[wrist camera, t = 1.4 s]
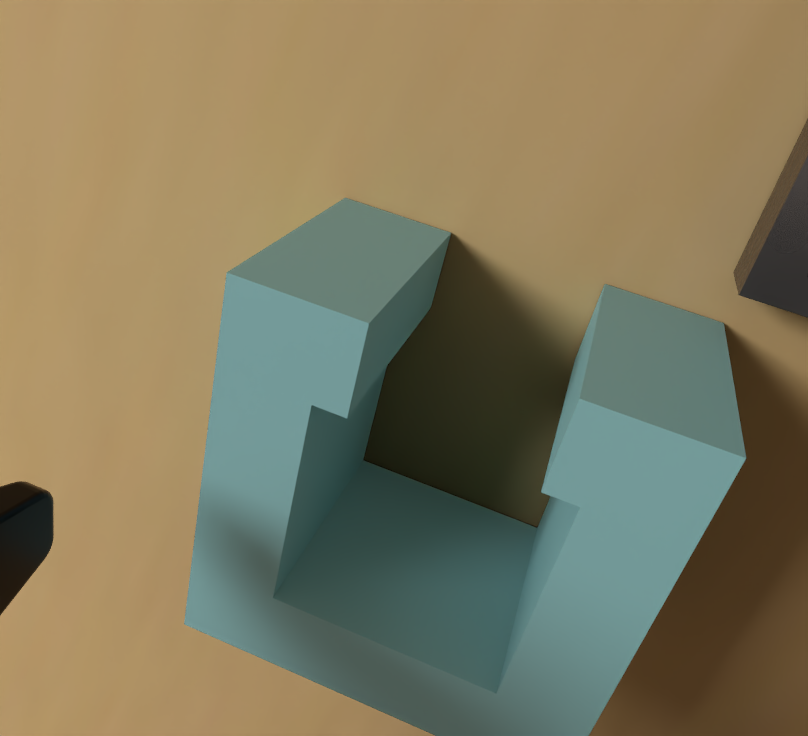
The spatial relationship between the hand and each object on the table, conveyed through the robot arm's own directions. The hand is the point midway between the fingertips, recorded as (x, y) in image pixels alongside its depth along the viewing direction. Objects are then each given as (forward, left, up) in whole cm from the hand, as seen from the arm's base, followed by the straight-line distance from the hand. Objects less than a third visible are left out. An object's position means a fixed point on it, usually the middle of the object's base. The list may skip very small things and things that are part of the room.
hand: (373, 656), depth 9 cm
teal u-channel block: (0, 0, -6) cm, 6 cm away
